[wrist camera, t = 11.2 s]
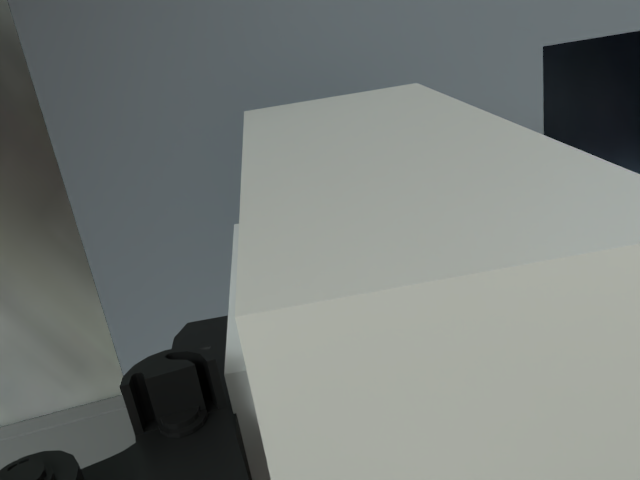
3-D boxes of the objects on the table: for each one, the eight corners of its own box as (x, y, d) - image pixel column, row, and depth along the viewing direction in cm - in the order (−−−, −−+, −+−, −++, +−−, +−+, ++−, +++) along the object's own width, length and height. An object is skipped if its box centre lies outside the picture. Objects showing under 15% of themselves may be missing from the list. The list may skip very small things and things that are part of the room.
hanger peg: (259, 310, 22) (282, 921, 7) (214, 88, 19) (96, 341, 4) (420, 281, 22) (759, 809, 8) (399, 58, 20) (880, 199, 5)
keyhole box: (189, 328, 30) (159, 493, 20) (100, -22, 24) (-8, -47, 14) (655, 244, 31) (854, 357, 21) (676, -108, 25) (966, -190, 15)
